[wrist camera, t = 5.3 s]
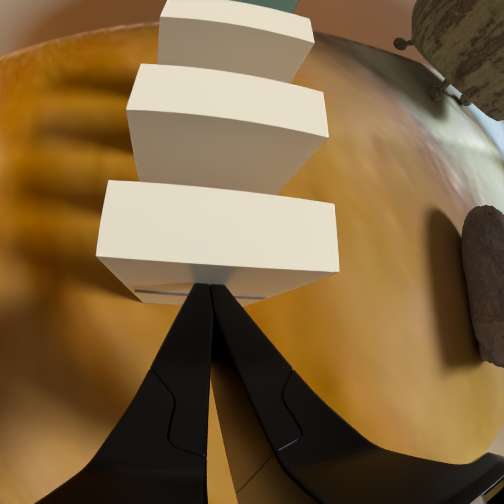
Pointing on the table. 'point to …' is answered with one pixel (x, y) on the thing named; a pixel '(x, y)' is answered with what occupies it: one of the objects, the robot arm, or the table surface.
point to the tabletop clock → (463, 49)
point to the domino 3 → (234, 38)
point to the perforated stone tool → (485, 279)
